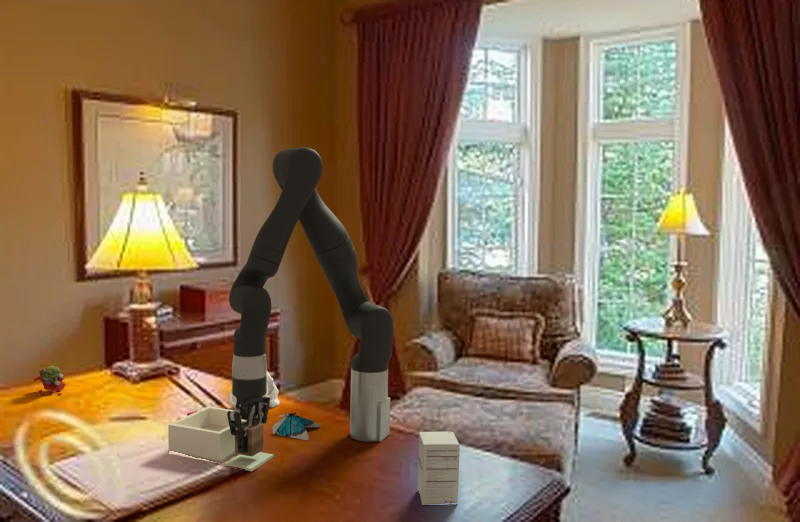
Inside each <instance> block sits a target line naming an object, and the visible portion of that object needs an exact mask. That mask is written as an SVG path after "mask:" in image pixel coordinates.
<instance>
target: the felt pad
mask: <svg viewBox="0 0 800 522" xmlns="http://www.w3.org/2000/svg"><path fill="white" fill-rule="evenodd" d="M273 458H274V453H273V454H272V453H267V452H262V451H260V452H259V453H257V454H256V455H254V456H252V457H251V456H246V455H241V454H237V455H235V456H233V457H232V458H230V459H228V460H227V461H225V463H224V462H223V463H224V465H228V466H234V467H239V468H242V469H245V470H244V471H247V472H248V471H249V472H253V471H254V470H256V469H257V468H259V467H261V466H262V465H263V464H265V463H267V462H268V461H269V460H271V459H273ZM242 469H241V470H242Z"/></svg>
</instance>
